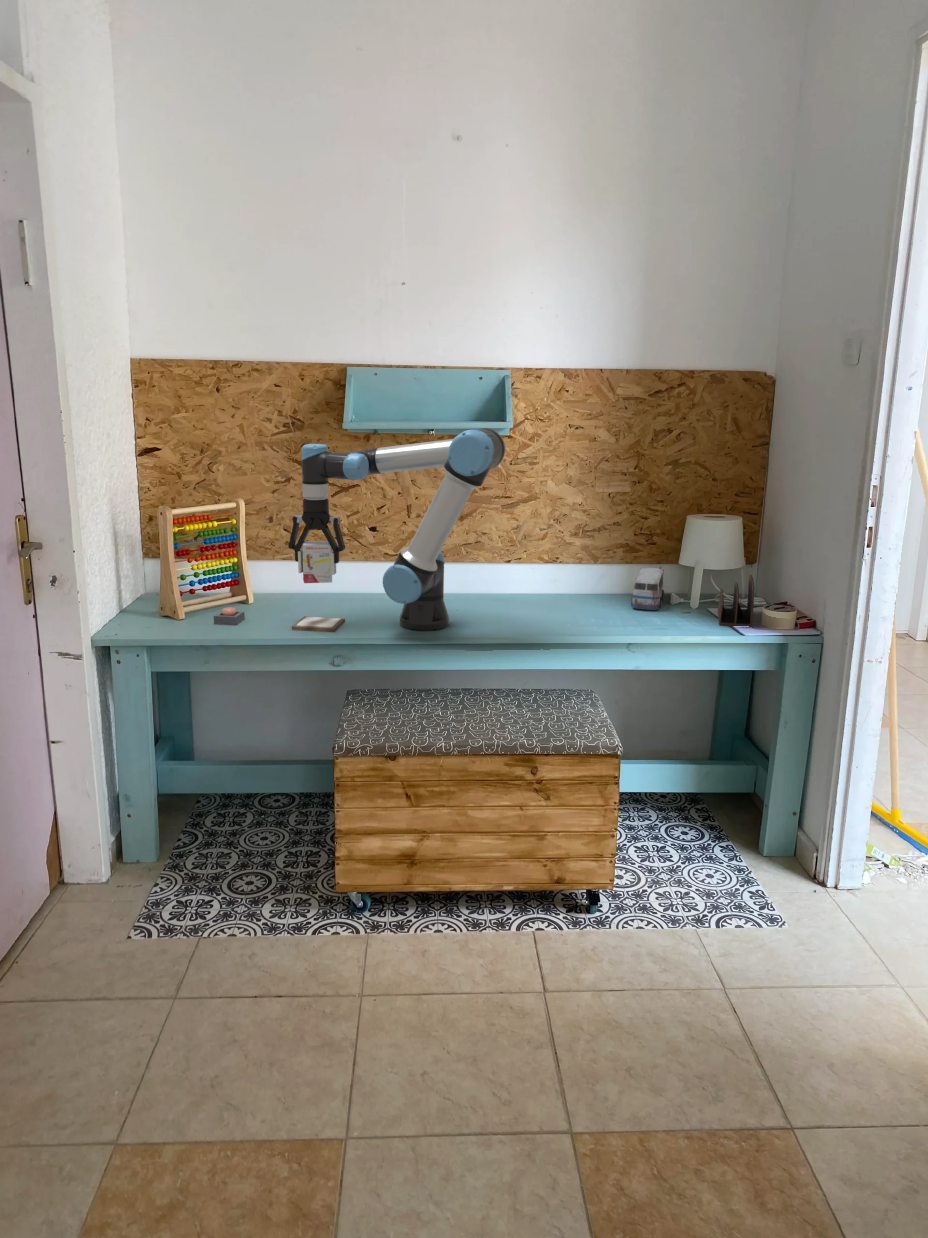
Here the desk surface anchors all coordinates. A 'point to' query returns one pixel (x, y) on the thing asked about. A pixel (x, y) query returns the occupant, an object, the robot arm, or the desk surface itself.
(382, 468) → the robot arm
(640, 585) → the toy bus
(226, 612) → the button
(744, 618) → the letter holder
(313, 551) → the ink box
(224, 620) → the button base
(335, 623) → the board
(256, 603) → the desk surface
